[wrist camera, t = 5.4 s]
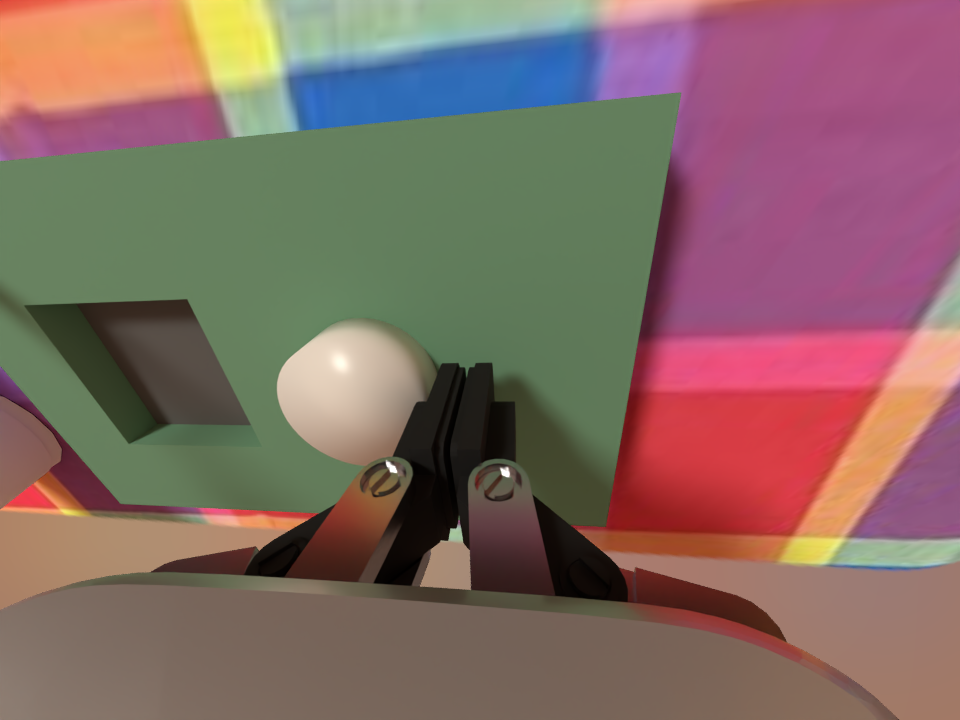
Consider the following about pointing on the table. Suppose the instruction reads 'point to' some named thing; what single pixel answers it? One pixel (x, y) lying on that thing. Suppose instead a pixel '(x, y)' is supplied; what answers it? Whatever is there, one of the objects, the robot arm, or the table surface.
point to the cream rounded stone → (355, 388)
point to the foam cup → (23, 450)
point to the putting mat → (333, 290)
